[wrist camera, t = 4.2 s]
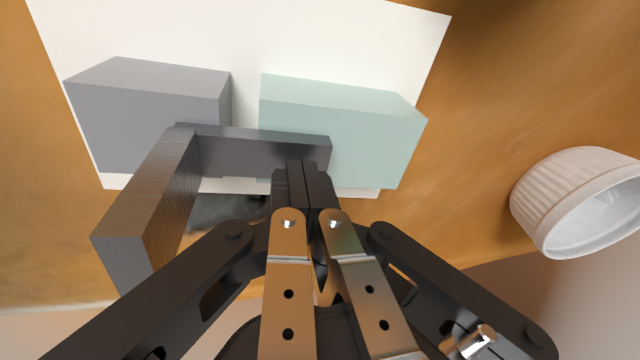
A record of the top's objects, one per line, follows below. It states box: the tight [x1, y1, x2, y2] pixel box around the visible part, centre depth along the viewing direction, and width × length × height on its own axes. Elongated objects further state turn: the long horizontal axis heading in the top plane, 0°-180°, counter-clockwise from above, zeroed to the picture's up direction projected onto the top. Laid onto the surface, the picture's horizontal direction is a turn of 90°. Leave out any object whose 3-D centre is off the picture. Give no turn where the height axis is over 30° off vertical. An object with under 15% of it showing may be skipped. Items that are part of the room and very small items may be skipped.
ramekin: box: [509, 146, 640, 260], centre depth 29 cm, size 13×13×7 cm
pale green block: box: [256, 73, 428, 189], centre depth 18 cm, size 10×6×5 cm, turn 80°
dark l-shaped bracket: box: [89, 122, 333, 297], centre depth 11 cm, size 8×3×8 cm, turn 80°
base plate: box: [25, 0, 452, 199], centre depth 17 cm, size 24×16×7 cm, turn 80°
